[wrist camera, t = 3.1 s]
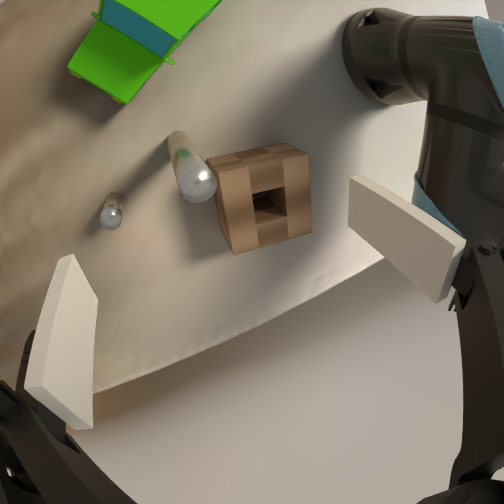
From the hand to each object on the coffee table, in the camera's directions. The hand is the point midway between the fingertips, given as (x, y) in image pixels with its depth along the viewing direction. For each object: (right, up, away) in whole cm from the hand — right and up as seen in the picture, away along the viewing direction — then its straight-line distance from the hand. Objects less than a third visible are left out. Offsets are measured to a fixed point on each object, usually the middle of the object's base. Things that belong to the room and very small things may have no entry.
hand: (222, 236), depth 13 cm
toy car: (-11, +22, +10) cm, 26 cm away
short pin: (-15, +5, +19) cm, 25 cm away
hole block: (+1, +7, +24) cm, 25 cm away
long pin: (-7, +12, +18) cm, 23 cm away
